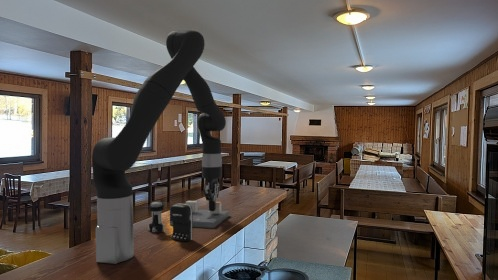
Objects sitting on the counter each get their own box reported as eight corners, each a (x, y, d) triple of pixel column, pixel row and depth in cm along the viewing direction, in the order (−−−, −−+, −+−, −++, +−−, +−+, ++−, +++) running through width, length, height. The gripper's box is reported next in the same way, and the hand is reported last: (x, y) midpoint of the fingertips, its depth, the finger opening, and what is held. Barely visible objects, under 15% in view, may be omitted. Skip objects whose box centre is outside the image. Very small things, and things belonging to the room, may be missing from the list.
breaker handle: (219, 213, 138) (219, 203, 137) (209, 213, 139) (209, 202, 138) (221, 212, 140) (221, 201, 140) (211, 211, 141) (211, 201, 141)
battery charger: (168, 240, 113) (167, 204, 113) (175, 237, 117) (175, 202, 116) (186, 243, 110) (185, 206, 110) (193, 239, 114) (193, 204, 113)
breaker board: (213, 228, 127) (213, 210, 127) (169, 225, 131) (169, 207, 131) (228, 215, 144) (228, 199, 144) (189, 213, 148) (189, 198, 148)
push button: (142, 232, 123) (141, 203, 122) (153, 228, 128) (152, 200, 127) (157, 234, 120) (156, 205, 119) (167, 230, 124) (167, 202, 124)
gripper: (215, 167, 128) (215, 215, 129) (226, 163, 141) (227, 207, 141) (195, 166, 130) (196, 214, 130) (208, 163, 143) (209, 206, 143)
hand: (212, 210), depth 136 cm, fingers closed
